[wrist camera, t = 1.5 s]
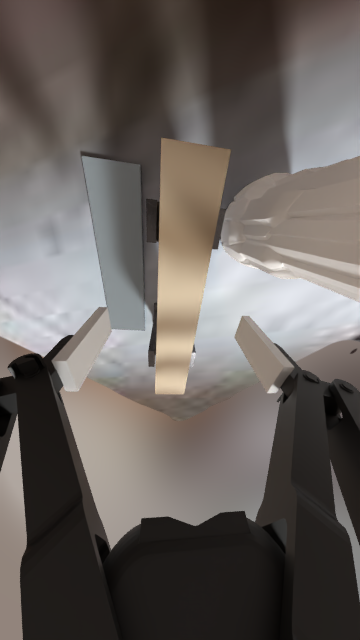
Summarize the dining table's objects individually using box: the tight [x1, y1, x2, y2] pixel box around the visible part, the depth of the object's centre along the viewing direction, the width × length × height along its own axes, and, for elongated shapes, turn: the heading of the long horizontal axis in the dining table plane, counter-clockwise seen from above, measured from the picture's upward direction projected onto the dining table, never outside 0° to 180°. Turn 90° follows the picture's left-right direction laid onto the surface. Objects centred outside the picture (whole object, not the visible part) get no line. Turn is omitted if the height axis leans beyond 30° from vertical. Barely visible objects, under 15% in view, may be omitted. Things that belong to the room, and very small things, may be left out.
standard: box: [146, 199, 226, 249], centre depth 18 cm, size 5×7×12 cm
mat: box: [82, 156, 145, 331], centre depth 26 cm, size 26×7×1 cm, turn 174°
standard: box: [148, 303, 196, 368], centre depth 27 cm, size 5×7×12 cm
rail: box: [155, 138, 231, 394], centre depth 17 cm, size 24×4×5 cm, turn 174°
